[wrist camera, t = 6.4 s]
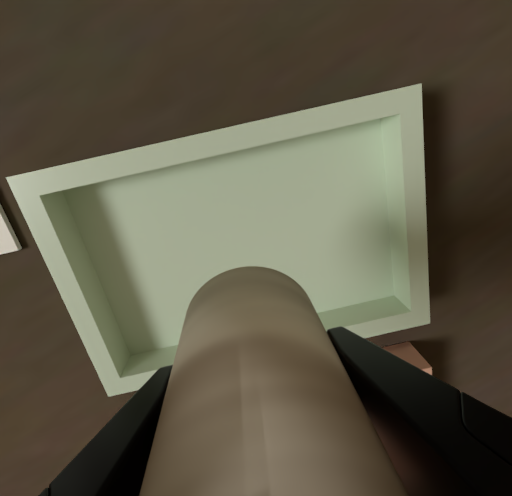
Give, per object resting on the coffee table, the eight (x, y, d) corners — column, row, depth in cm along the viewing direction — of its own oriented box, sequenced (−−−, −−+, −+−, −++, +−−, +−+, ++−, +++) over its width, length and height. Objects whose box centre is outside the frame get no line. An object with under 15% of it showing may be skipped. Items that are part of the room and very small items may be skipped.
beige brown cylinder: (324, 365, 10) (487, 752, 4) (203, 393, 10) (156, 829, 4) (305, 250, 9) (503, 539, 2) (165, 282, 9) (-7, 657, 2)
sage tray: (406, 301, 20) (430, 323, 17) (123, 366, 20) (108, 396, 17) (393, 92, 16) (421, 83, 13) (39, 172, 16) (5, 177, 13)
